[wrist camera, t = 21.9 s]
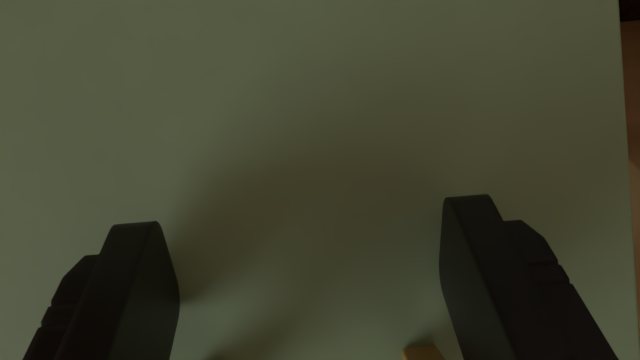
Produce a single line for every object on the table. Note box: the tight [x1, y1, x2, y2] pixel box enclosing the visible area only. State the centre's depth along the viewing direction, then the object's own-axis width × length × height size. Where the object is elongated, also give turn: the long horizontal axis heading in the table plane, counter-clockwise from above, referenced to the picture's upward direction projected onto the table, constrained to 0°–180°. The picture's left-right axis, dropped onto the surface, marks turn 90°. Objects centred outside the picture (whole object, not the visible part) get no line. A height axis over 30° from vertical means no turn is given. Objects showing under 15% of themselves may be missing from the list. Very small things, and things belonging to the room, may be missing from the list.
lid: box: [0, 0, 640, 360], centre depth 8 cm, size 16×13×5 cm
